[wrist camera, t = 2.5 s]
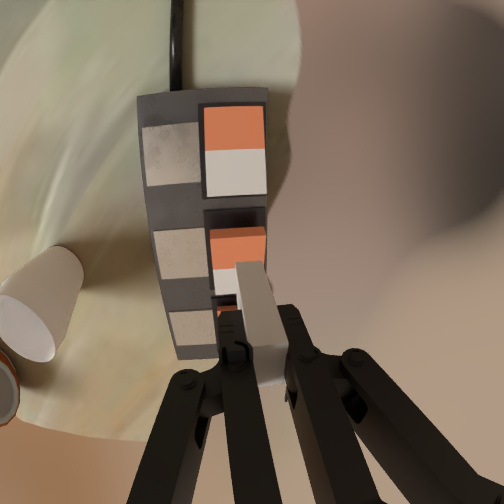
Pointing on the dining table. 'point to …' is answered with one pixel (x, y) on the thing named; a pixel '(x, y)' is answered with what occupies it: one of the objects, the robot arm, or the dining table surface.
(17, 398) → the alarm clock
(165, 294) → the power strip
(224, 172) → the rocker
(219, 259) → the rocker
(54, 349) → the cup
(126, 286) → the dining table surface
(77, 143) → the dining table surface
